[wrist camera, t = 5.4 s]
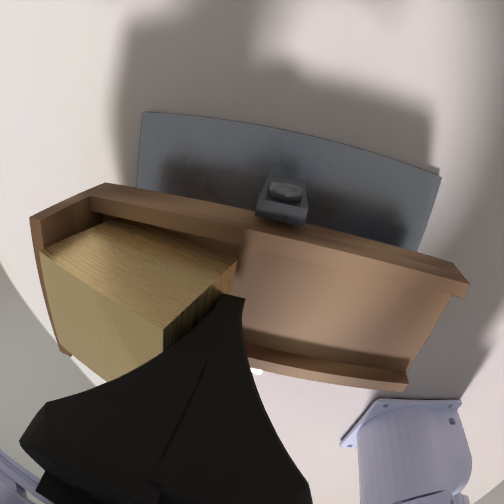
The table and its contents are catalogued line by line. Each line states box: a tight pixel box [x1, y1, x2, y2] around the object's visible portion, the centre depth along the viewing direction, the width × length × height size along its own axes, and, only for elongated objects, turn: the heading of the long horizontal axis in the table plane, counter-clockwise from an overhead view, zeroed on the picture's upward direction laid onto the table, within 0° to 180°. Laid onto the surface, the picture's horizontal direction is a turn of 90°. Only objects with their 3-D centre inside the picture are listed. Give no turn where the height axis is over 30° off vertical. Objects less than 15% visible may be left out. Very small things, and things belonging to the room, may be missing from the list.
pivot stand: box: [136, 112, 442, 375], centre depth 13 cm, size 15×12×5 cm
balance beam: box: [29, 183, 470, 392], centre depth 11 cm, size 15×6×6 cm, turn 80°
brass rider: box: [39, 217, 238, 382], centre depth 9 cm, size 5×4×4 cm
